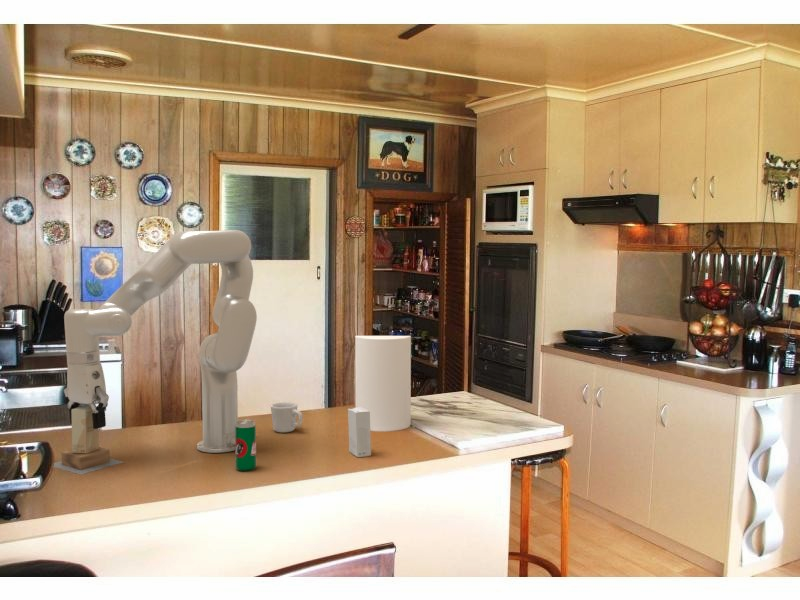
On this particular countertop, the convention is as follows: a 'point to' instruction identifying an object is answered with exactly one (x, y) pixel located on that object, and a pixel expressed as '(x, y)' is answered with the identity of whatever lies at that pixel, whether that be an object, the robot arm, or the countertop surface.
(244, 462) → the soda can
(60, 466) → the slate mat
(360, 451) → the skincare box
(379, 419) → the cylinder
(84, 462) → the walnut plinth
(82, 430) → the box
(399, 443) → the countertop surface
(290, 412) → the cup
